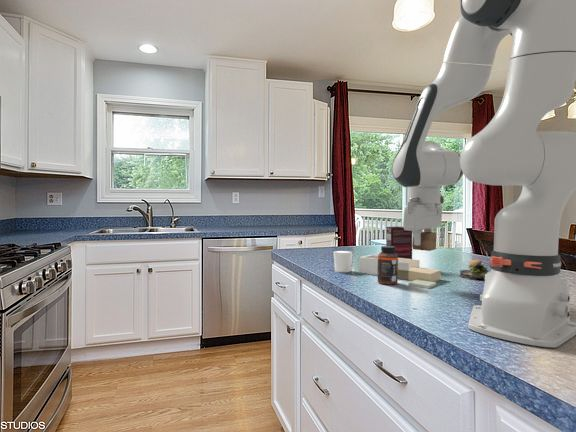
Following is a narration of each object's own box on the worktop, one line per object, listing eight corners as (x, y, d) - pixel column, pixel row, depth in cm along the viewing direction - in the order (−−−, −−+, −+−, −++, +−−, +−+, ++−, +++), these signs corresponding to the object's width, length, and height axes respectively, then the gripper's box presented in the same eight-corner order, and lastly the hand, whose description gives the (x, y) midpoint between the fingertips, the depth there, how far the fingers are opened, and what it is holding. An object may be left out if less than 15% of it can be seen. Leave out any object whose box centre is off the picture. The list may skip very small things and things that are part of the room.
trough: (430, 283, 107) (430, 265, 107) (359, 272, 124) (359, 257, 124) (440, 279, 113) (440, 262, 113) (371, 269, 130) (371, 254, 130)
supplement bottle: (400, 285, 104) (400, 247, 104) (379, 285, 104) (380, 247, 104) (394, 281, 110) (395, 245, 110) (375, 280, 110) (376, 245, 110)
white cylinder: (338, 268, 132) (338, 249, 132) (355, 270, 128) (355, 251, 128) (329, 271, 126) (329, 251, 126) (346, 273, 122) (347, 253, 122)
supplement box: (406, 266, 137) (406, 226, 136) (412, 269, 132) (413, 226, 131) (385, 267, 135) (385, 226, 135) (390, 269, 131) (391, 226, 130)
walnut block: (412, 249, 104) (413, 232, 104) (419, 247, 108) (419, 231, 108) (429, 250, 101) (430, 233, 101) (435, 249, 105) (436, 232, 104)
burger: (476, 282, 110) (477, 259, 110) (451, 275, 122) (451, 253, 122) (508, 281, 113) (509, 258, 113) (480, 274, 125) (481, 253, 124)
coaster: (428, 288, 101) (428, 285, 101) (408, 285, 105) (408, 282, 105) (436, 285, 105) (436, 282, 105) (416, 282, 109) (416, 279, 109)
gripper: (420, 197, 94) (418, 248, 95) (446, 198, 109) (445, 242, 110) (397, 197, 99) (396, 246, 99) (425, 198, 114) (424, 240, 114)
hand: (422, 244), depth 105 cm, fingers closed on walnut block, 5 cm apart
